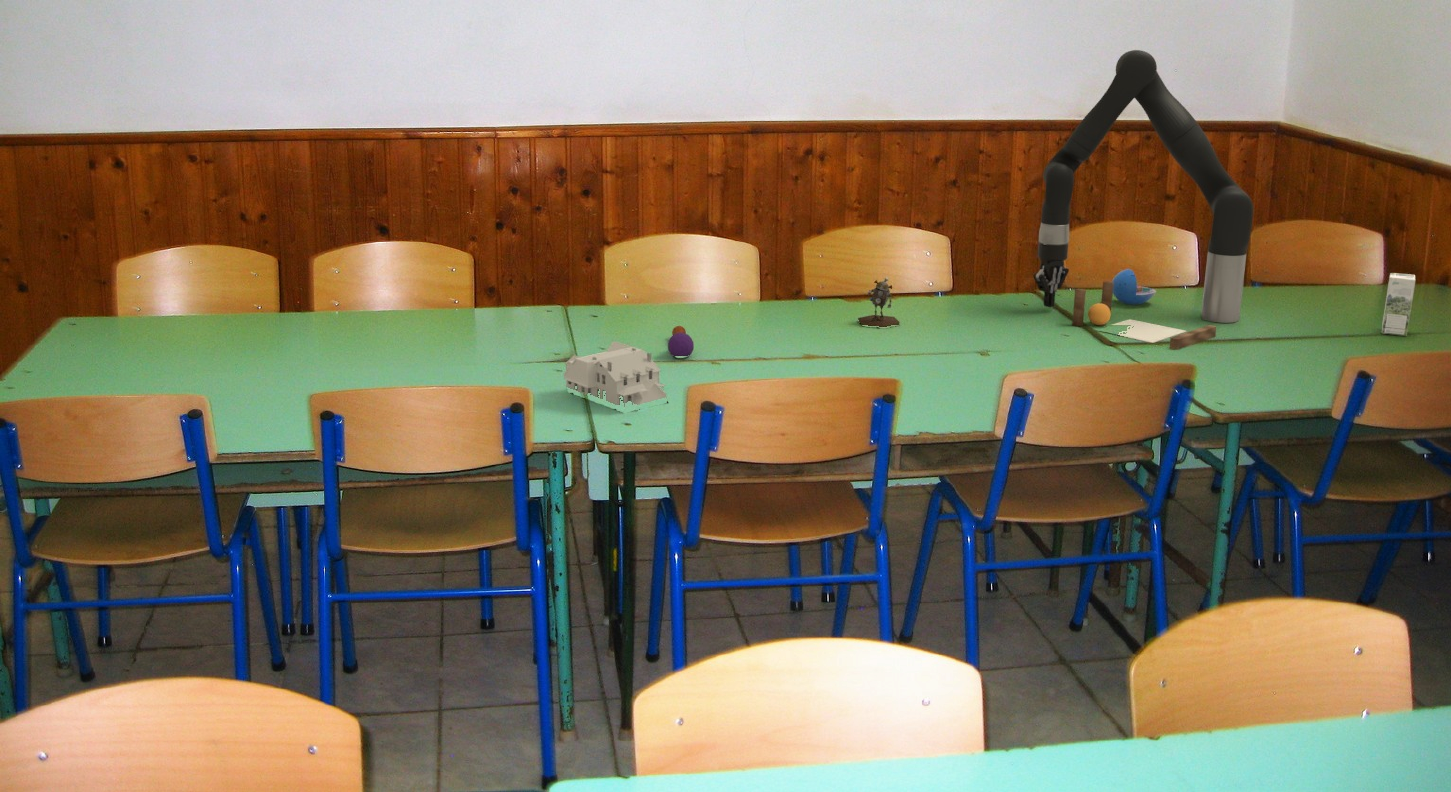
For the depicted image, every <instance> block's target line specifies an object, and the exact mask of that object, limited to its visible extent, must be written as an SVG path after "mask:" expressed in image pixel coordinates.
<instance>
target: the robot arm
mask: <svg viewBox="0 0 1451 792" xmlns="http://www.w3.org/2000/svg"><path fill="white" fill-rule="evenodd" d="M1157 70H1158V67H1157V61H1156V59H1155V58H1154V56H1153V55H1152V54H1150V52H1147V51H1144V50H1142V49H1141V50H1140V49H1134V50H1129V51H1126V52H1124V53H1123V54H1122V55H1121V56H1120V57H1119V58H1118V59H1117V62H1116V66H1115V76H1114V77H1113V80H1112V81H1111V83H1110V85H1109V87H1108V89H1106V91H1105V92H1104V94H1103V95H1102V96H1101V98H1100V99H1099V100H1098V102H1096V104H1095V105H1094V106H1093V107H1092V109H1090V110H1089V111H1088V113H1087V114H1086V115H1085V116H1084V118H1083V119H1081V121H1080V122H1079V123H1078V125H1077V126H1076V128H1075V129H1074V131H1073V132H1072V133H1071V135H1070V136H1069V137H1068V139H1067V140H1066V142H1065V144H1064V145H1062V147H1061V148H1060V149H1059V150H1058V151H1057V152H1056V154H1055V155H1054V156H1053V157H1052V158H1051V160H1049V162H1048V163H1047V164H1046V166H1045V168H1044V170H1043V173H1042V179H1043V182H1044V183H1045V188H1044V189H1045V192H1044V202H1043V203H1042V207H1041V214H1040V215H1041V217H1040V226H1039V231H1038V247H1037V258H1038V259H1039V260H1040V261H1041V262H1040V264H1039V271H1038V272H1037V273H1036V272H1035V273H1033V275H1032V277H1033V280H1034V281H1035V283H1036V286H1037V288H1038V290H1039V291H1041V292H1043V293H1044V294H1043V306H1044V307H1047V308H1051V307H1054V306H1055V301H1056V300H1055V299H1056V293H1057V292H1058V290H1060V289H1061V288H1062V286H1063V284H1064V282H1065V280H1066V278H1067V277H1068V274H1069V271H1070V270H1069V268H1066V267H1065V266H1064V265H1065V263H1064V261H1066V260H1067V259H1068V257H1069V256H1068V255H1069V253H1068V252H1069V243H1070V241H1069V239H1070V214H1071V201H1072V196H1073V190H1074V185H1075V172H1076V171H1077V170H1078V169H1079V167H1080V166H1081V165H1082V164H1083V163H1084V162H1087V160H1088V159H1089V158H1090V157H1091V156H1092V154H1093V153H1094V152H1095V151H1096V149H1097V148H1098V146H1099V145H1100V144H1101V142H1102V141H1103V140H1104V138H1105V137H1106V136H1107V134H1108V132H1109V131H1110V129H1112V127H1113V125H1114V123H1116V122H1117V121H1116V120H1117V119H1119V117H1120V115H1122V113H1123V112H1124V110H1125V109H1126V108H1127V107H1128V106H1129V105H1130V104H1131V102H1132V101H1133V100H1134V99H1135V100H1136V101H1137V103H1138V104H1139V105H1140V106H1141V108H1142V110H1143V111H1144V113H1145V114H1146V116H1147V118H1148V120H1149V122H1150V123H1151V125H1152V127H1153V128H1154V131H1155V132H1156V134H1157V136H1158V137H1159V139H1160V140H1161V142H1162V143H1163V145H1164V147H1165V148H1166V150H1167V151H1168V152H1169V154H1170V155H1171V156H1172V157H1173V159H1174V160H1175V161H1176V163H1177V164H1178V166H1180V167H1181V169H1182V170H1184V172H1186V174H1187V175H1188V176H1189V177H1190V178H1191V179H1192V180H1193V181H1194V183H1195V184H1196V185H1197V187H1198V188H1199V189H1200V191H1201V192H1202V193H1201V194H1203V197H1204V199H1205V200H1206V202H1207V204H1208V206H1209V208H1210V209H1211V212H1212V215H1213V216H1212V218H1213V219H1212V225H1211V235H1210V239H1209V242H1208V247H1207V248H1208V249H1207V256H1206V267H1205V274H1204V275H1205V276H1204V285H1203V293H1202V294H1203V296H1202V302H1201V311H1200V318H1201V319H1202V320H1205V321H1208V322H1213V323H1220V324H1221V323H1223V324H1225V323H1226V324H1227V323H1228V324H1229V323H1236V322H1239V321H1240V318H1241V307H1242V298H1243V291H1244V279H1245V278H1244V277H1245V269H1246V261H1247V252H1248V246H1249V243H1250V239H1251V234H1252V233H1251V232H1252V224H1253V218H1254V204H1253V200H1252V198H1250V197H1251V196H1250V195H1248V193H1246V192H1245V191H1244V190H1243V189H1242V188H1241V187H1240V186H1239V185H1238V184H1237V183H1236V182H1235V181H1234V180H1233V178H1232V177H1231V175H1230V174H1229V173H1228V172H1227V171H1226V169H1225V168H1224V167H1223V165H1222V164H1221V162H1220V160H1219V158H1218V156H1217V154H1216V150H1215V149H1214V147H1213V145H1212V143H1211V141H1210V140H1209V138H1208V136H1207V134H1206V133H1205V131H1204V130H1203V129H1202V127H1201V126H1200V125H1199V123H1198V122H1197V121H1196V119H1195V118H1194V117H1193V115H1192V114H1191V113H1190V111H1188V110H1187V109H1186V107H1185V106H1184V105H1183V104H1182V103H1181V102H1180V101H1179V100H1178V99H1177V98H1176V96H1174V95H1173V94H1172V93H1171V92H1170V90H1169V89H1168V88H1167V86H1166V85H1165V83H1164V81H1163V79H1162V78H1161V77H1160V75H1159V72H1158V71H1157Z"/></svg>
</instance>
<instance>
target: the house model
mask: <svg viewBox="0 0 1451 792" xmlns="http://www.w3.org/2000/svg"><path fill="white" fill-rule="evenodd" d="M564 363H565V371H564V373H563V379H564V380H565V381H566V388H567V387H568V388H570V389H573V390H576V391H578V392H580V393H585V394H588V393H591V394H590V395H593V396H595V397H598V396H599V395H598V391H599V389H600V393H599V394H600V399H603V391H606V393H605V394H606V401H608V402H610V403H613V404H615V405H620V399H621V398H619V397H620V396H622V397H623V400H621V401H623V403H624V407H625V403H627V402H628V401H631V402H632V405H633V403H634V404H637V405H640V404H642V403H647V402H651V401H654V400H658V399H662V398H665V397H666V398H667V399H668V395H667V393H666V392H665V391H664V390H665V388H664V387H665V386H666V385H665V384H662V383H660V372H661V371H662V369H660V368H659V366H658V365H657V364H656V363H655V362H654V361H653V360H652V353H651V352H646V351H645V350H643V349H640V348H638V347H634V346H631V345H628V344H625V343H623V342H619V341H616V340H613V341H612V343H611V344H610V345H609V347H608V348H607V350H606V351H602V352H599V353H593V354H589V355H585V356H584V355H583V356H579V355H576V354H574V355H572V356H571V357H570V358H569V359H568V360H567V361H566V362H564ZM575 386H577V389H575ZM661 388H662V389H661ZM604 396H605V395H604ZM598 398H599V397H598Z"/></svg>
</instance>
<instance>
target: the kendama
mask: <svg viewBox="0 0 1451 792" xmlns="http://www.w3.org/2000/svg"><path fill="white" fill-rule="evenodd" d="M686 332H687V330H686V328H685V327H684V326H681V325H676V326H674V328H672V331H671V334H672V335H671V336H670V337H669V339H668V342H667V349H668V352H669V354H670V355H671V356H672V355H674V356H688V355H689V356H690V355H692V353H693V351H694V348H695V347H694V341H693V339H692V337H691V336H690V335H689V334H687V333H686ZM689 356H688V357H689Z"/></svg>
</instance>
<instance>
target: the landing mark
mask: <svg viewBox="0 0 1451 792" xmlns="http://www.w3.org/2000/svg"><path fill="white" fill-rule="evenodd" d="M1111 325H1131V326H1128V327H1127V331H1122V332H1119V334H1118V335H1120V336H1119V337H1121V336H1124V337H1123V338H1126V337H1128V338H1127V339H1132V340H1135V339H1136V341H1141V342H1144V343H1145V342H1146V343H1151V344H1154V343H1157V342H1160V341H1164V340H1166V339H1169V338H1171V337H1174V336H1177V335H1180V334H1183V333H1186V332H1188V331H1187V330H1185V329H1179V328H1175V327H1169V326H1164V325H1159V324H1155V323H1154V324H1153V323H1149V322H1145V321H1141V320H1140V321H1139V320H1134V319H1130V318H1129V319H1126V320H1123V321H1119V322H1116V323H1113V324H1111ZM1133 326H1134V327H1133ZM1129 327H1130V329H1128V328H1129ZM1132 327H1133V328H1132ZM1123 332H1125V333H1126V332H1127V333H1126V334H1123ZM1120 333H1122V334H1120Z"/></svg>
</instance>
